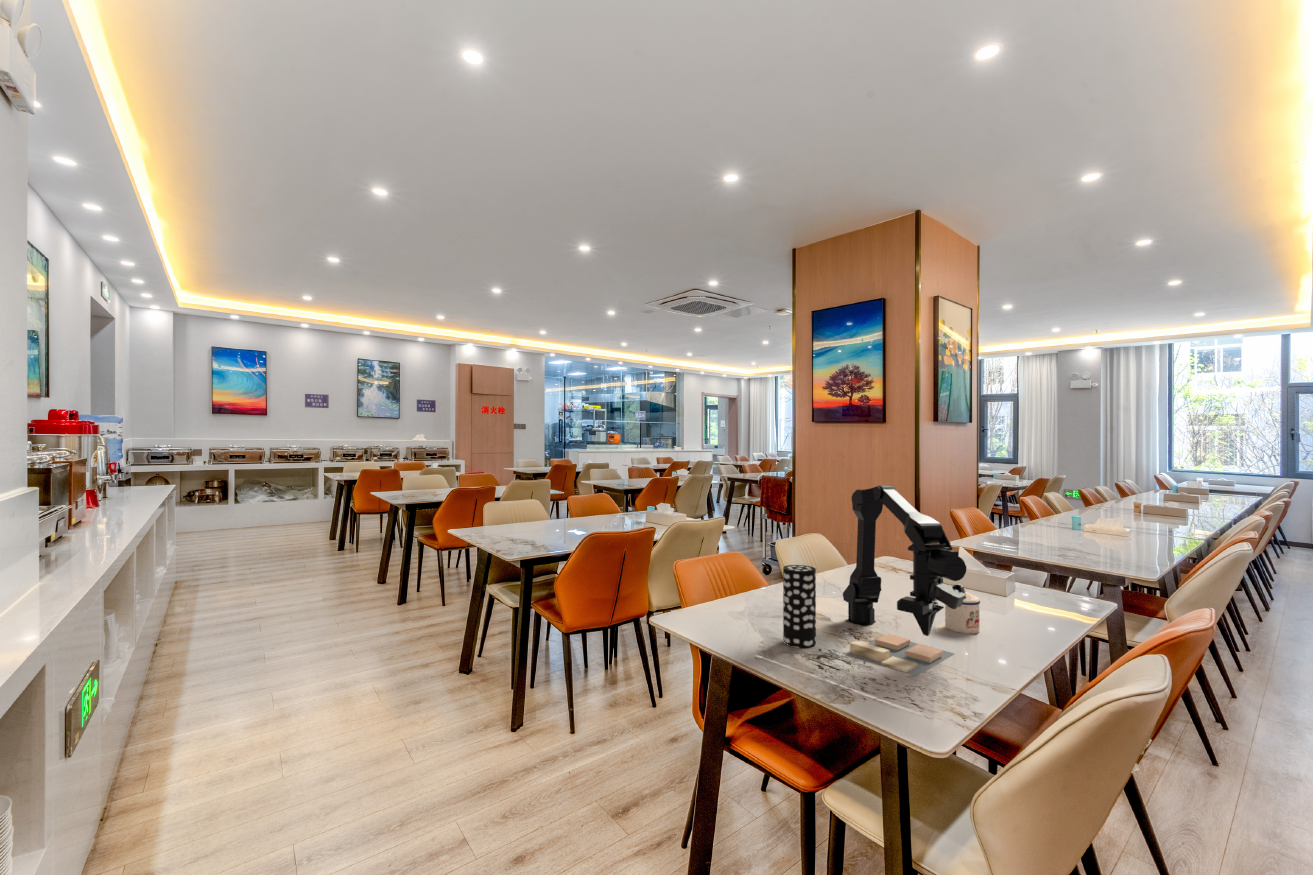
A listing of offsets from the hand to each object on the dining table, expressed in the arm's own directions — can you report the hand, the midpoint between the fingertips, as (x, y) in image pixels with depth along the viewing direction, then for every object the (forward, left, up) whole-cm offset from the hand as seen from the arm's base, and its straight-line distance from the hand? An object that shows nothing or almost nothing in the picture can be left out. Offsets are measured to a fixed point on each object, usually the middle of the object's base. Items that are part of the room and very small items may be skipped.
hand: (926, 635), depth 140 cm
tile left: (-9, +4, -4) cm, 11 cm away
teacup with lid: (-3, +31, -6) cm, 32 cm away
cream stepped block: (-6, -11, -5) cm, 13 cm away
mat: (-5, -3, -6) cm, 8 cm away
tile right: (0, +2, -4) cm, 5 cm away
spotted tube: (-26, -16, -6) cm, 31 cm away
